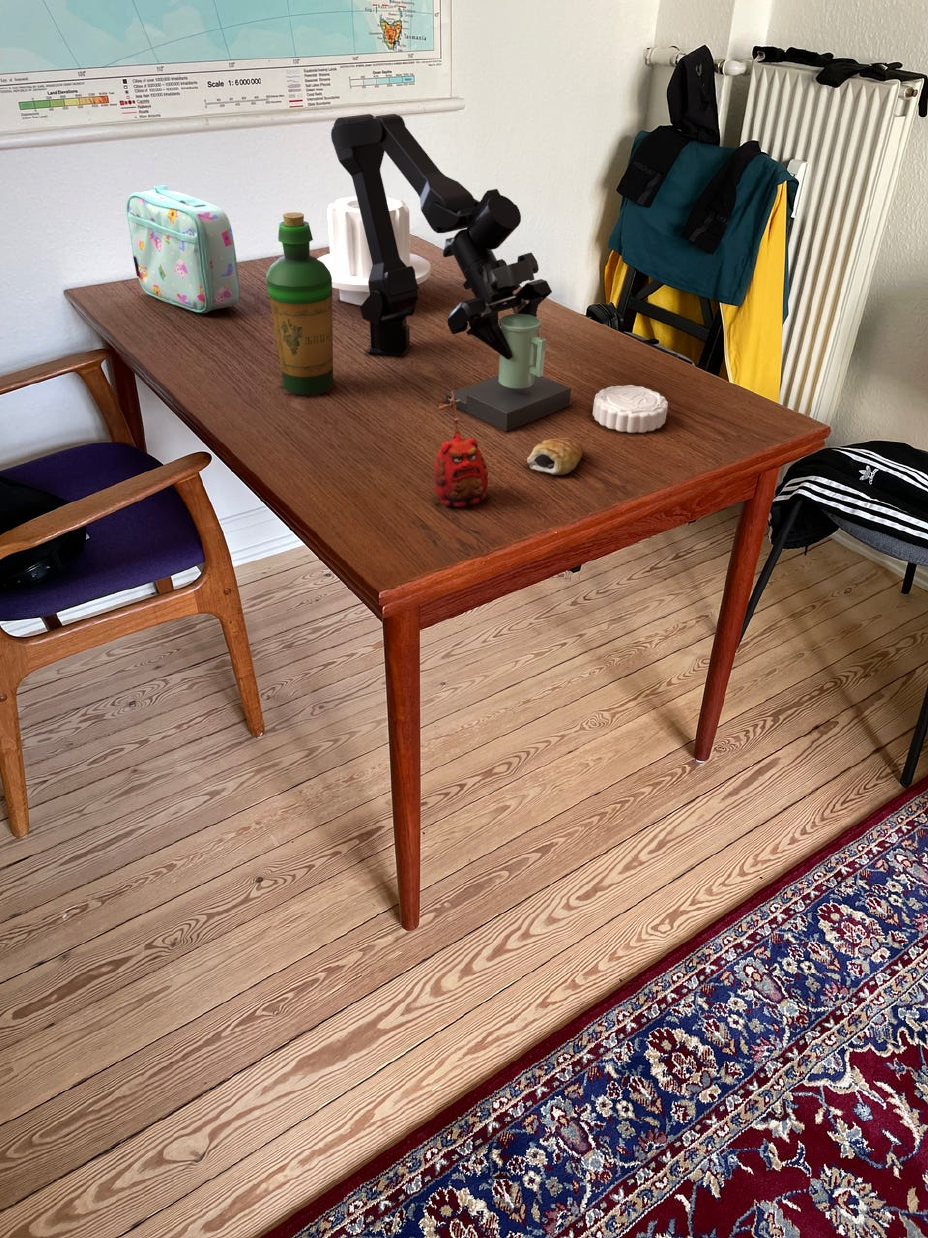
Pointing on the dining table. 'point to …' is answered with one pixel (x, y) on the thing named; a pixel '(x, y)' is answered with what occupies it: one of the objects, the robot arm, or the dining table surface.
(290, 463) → the dining table surface
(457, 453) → the red clay folk toy
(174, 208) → the lunch box
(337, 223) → the ribbed cylinder on disc
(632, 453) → the dining table surface
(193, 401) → the dining table surface
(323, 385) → the bottle
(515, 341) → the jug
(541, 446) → the pastry
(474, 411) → the step shelf
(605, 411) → the mooncake
